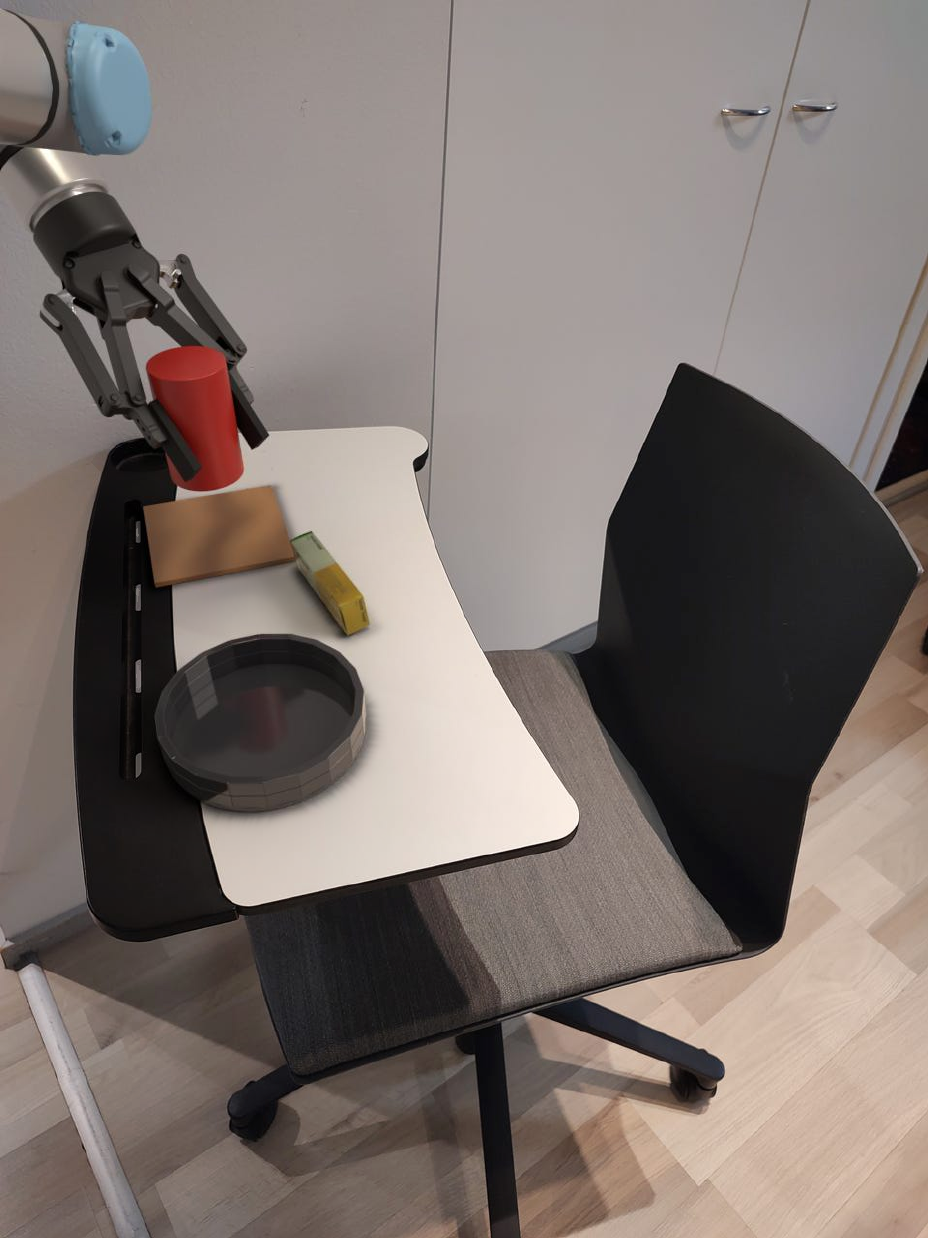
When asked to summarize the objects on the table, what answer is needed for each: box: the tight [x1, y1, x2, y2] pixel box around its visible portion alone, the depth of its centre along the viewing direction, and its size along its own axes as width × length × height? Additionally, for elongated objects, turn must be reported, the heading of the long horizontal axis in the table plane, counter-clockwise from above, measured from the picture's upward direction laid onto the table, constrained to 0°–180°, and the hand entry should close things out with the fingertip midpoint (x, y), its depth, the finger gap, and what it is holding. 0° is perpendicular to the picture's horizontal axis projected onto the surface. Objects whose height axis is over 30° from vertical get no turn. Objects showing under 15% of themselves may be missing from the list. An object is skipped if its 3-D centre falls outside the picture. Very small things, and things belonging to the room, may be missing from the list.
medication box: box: [290, 530, 371, 636], centre depth 85 cm, size 12×3×4 cm, turn 31°
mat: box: [142, 484, 296, 588], centre depth 94 cm, size 14×14×1 cm
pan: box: [154, 633, 367, 813], centre depth 72 cm, size 16×16×4 cm
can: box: [145, 346, 245, 493], centre depth 76 cm, size 6×6×10 cm
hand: (227, 457), depth 76 cm, fingers closed on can, 6 cm apart
